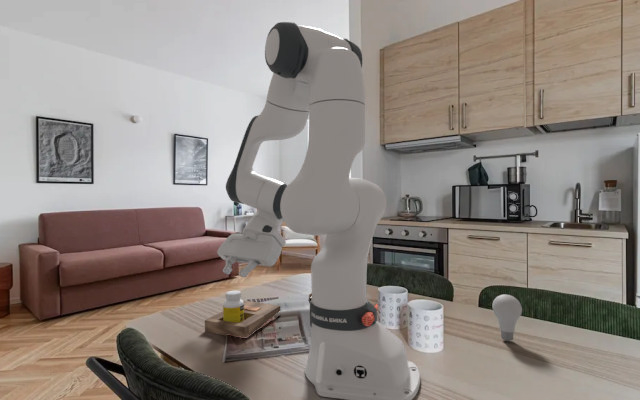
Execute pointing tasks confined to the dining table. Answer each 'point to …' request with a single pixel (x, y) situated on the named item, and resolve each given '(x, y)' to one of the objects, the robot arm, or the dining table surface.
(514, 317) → the lightbulb
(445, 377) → the dining table surface
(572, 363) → the dining table surface
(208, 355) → the dining table surface
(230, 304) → the supplement bottle
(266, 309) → the block
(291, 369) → the dining table surface
